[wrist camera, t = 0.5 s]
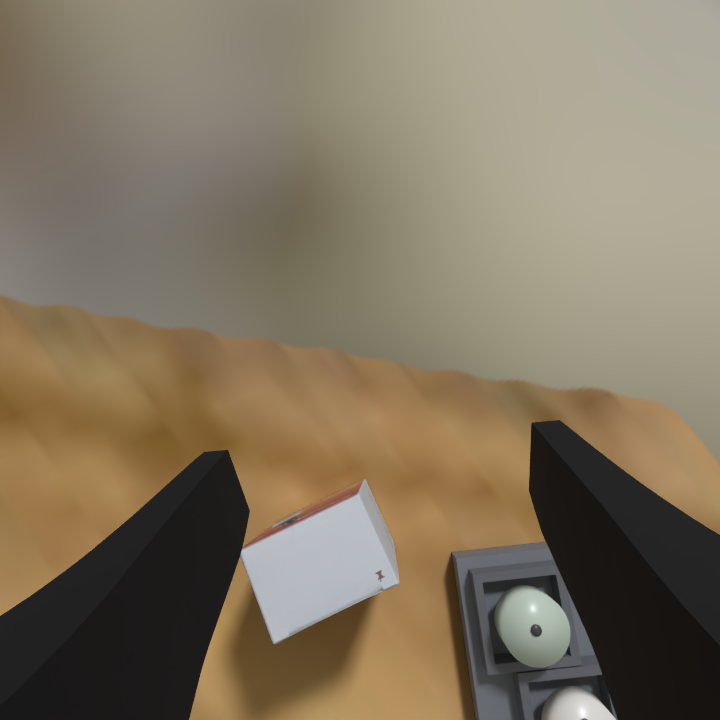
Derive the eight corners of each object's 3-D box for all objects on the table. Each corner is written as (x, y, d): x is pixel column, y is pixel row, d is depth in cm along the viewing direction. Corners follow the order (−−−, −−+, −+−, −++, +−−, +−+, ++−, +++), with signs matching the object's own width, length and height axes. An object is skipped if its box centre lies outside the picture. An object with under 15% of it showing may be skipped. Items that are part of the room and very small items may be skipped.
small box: (365, 477, 36) (361, 489, 26) (395, 543, 35) (403, 584, 25) (275, 519, 36) (235, 549, 25) (302, 587, 34) (271, 648, 24)
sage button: (564, 651, 30) (577, 664, 28) (500, 657, 30) (508, 672, 28) (552, 581, 31) (563, 590, 29) (489, 588, 31) (496, 597, 29)
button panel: (670, 855, 30) (707, 906, 27) (497, 873, 30) (512, 926, 27) (603, 535, 34) (628, 545, 31) (451, 552, 35) (459, 563, 31)
